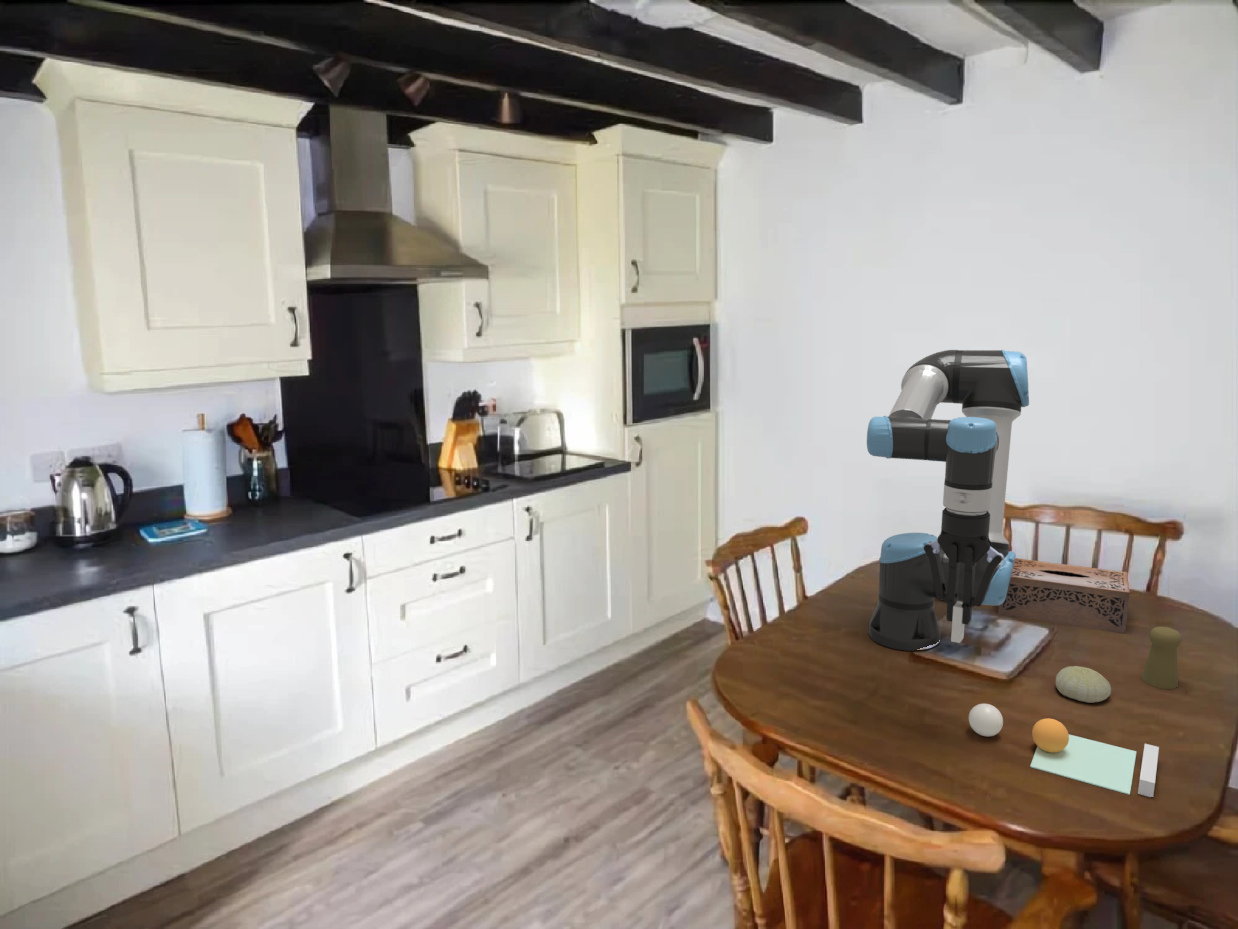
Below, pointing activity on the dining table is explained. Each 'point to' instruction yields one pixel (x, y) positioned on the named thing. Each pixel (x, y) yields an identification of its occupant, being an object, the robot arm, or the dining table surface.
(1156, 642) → the cork
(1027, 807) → the dining table surface
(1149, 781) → the stopper
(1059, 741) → the orange ball
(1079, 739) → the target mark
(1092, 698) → the sea urchin shell
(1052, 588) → the tissue box cover
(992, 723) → the cue ball
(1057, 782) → the dining table surface
